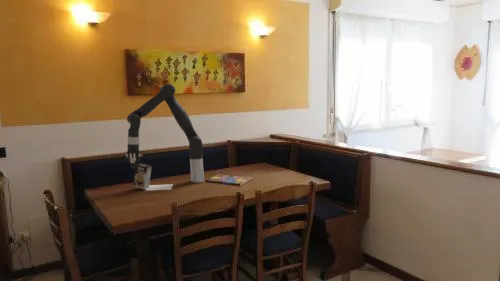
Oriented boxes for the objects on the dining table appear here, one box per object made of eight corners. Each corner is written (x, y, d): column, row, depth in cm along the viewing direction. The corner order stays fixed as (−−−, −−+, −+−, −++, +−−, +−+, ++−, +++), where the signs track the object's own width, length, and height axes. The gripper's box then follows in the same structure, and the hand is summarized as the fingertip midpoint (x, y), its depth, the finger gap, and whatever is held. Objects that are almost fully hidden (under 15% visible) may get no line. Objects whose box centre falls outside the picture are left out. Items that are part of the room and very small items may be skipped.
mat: (173, 184, 281) (173, 184, 281) (170, 189, 268) (170, 189, 268) (149, 186, 280) (148, 185, 279) (145, 190, 267) (145, 190, 267)
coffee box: (132, 186, 270) (135, 164, 267) (138, 184, 276) (140, 162, 273) (144, 190, 267) (146, 167, 264) (149, 187, 274) (151, 165, 270)
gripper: (144, 143, 271) (143, 167, 272) (124, 142, 269) (124, 167, 271) (142, 144, 263) (141, 169, 265) (122, 143, 262) (121, 169, 264)
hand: (132, 168), depth 268 cm, fingers closed
